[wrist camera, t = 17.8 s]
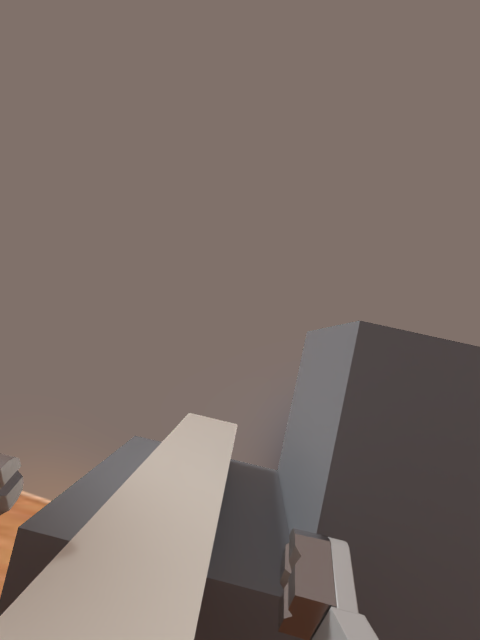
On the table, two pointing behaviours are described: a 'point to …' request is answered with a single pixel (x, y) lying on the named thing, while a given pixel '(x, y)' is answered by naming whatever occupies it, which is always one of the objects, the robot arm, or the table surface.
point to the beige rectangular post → (137, 550)
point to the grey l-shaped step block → (333, 492)
